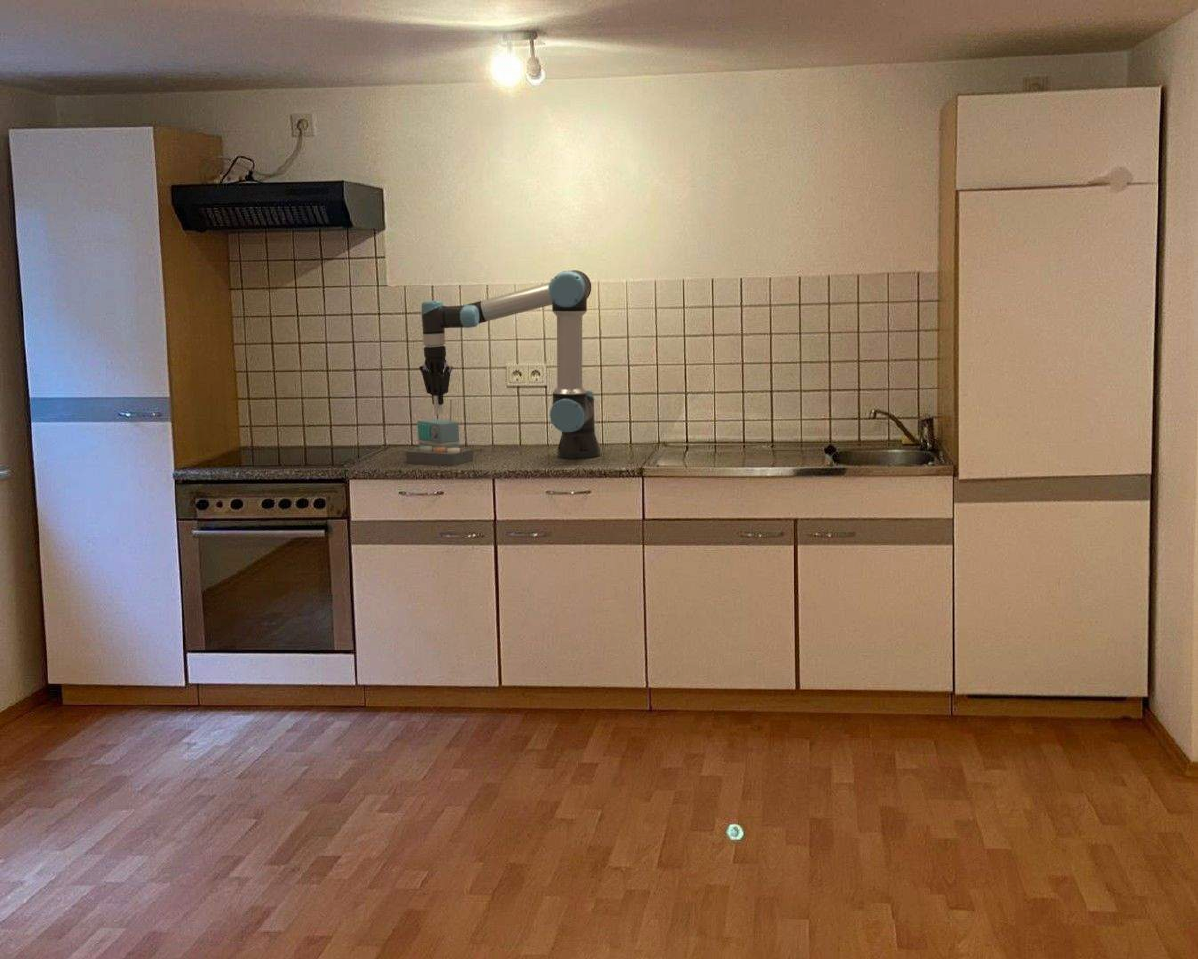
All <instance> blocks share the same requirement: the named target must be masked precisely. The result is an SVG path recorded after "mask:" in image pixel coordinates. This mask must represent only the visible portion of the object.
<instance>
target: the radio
mask: <svg viewBox="0 0 1198 959" xmlns="http://www.w3.org/2000/svg"><path fill="white" fill-rule="evenodd" d="M449 404H450V409H449V410H450V412H449V420H448V419H447V420H446V419H442V418H429V419H428V418H427V419H421V420H420V419H418V420H417V421H416V422H417V423H416V424H417V438H418V440H417V442H418V448H419V447H421V446H432V447H446V448H460V430H459V429H460V428H459V422H458V421H455V420H452V399H450V403H449ZM460 449H461V448H460Z"/></svg>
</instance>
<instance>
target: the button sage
mask: <svg viewBox="0 0 1198 959" xmlns="http://www.w3.org/2000/svg"><path fill="white" fill-rule="evenodd" d="M418 449H419V450H420V451H429V450H432V446H421V447H419V446H418Z"/></svg>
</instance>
